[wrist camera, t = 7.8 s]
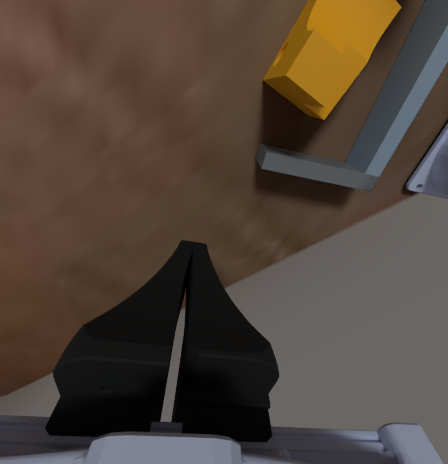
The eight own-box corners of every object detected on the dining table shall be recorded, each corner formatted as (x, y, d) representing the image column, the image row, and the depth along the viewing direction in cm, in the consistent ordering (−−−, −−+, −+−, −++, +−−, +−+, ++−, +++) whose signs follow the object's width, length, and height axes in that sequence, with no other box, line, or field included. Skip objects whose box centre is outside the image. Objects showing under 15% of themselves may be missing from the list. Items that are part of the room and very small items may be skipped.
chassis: (549, -198, 10) (656, -290, 8) (350, 178, 20) (370, 191, 17) (381, -290, 9) (445, -435, 7) (255, 158, 19) (261, 168, 16)
